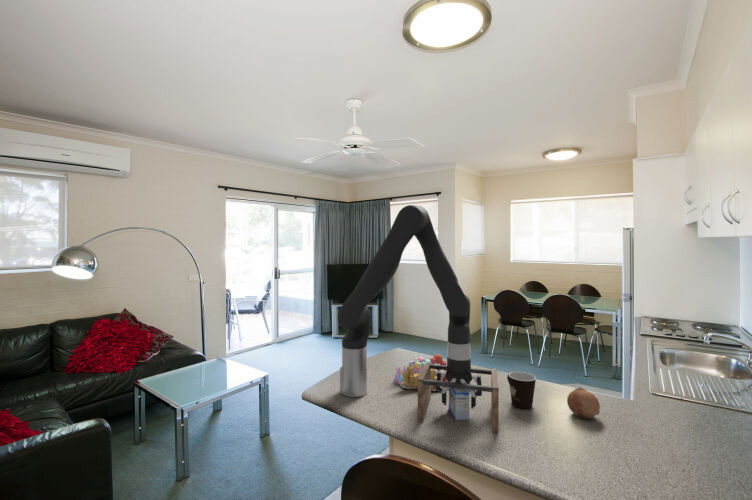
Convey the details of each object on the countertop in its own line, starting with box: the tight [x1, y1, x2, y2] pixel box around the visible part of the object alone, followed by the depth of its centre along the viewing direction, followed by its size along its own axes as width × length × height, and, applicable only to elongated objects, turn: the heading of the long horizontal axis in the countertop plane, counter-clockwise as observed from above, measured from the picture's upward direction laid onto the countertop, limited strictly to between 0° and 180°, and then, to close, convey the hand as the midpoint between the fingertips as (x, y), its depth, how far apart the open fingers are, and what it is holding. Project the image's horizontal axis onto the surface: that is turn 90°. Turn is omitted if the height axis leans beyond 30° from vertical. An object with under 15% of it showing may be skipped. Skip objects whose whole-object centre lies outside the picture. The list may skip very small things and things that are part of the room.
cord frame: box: [417, 362, 500, 433], centre depth 114 cm, size 24×17×13 cm
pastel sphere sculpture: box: [394, 353, 448, 392], centre depth 143 cm, size 25×24×9 cm
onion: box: [566, 386, 601, 420], centre depth 112 cm, size 9×9×10 cm
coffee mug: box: [506, 371, 537, 411], centre depth 121 cm, size 12×9×10 cm
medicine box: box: [448, 387, 470, 421], centre depth 114 cm, size 8×4×9 cm, turn 5°
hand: (458, 405), depth 114 cm, fingers open, 8 cm apart
